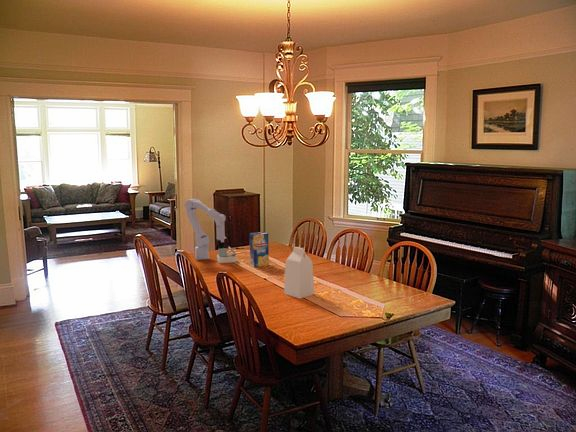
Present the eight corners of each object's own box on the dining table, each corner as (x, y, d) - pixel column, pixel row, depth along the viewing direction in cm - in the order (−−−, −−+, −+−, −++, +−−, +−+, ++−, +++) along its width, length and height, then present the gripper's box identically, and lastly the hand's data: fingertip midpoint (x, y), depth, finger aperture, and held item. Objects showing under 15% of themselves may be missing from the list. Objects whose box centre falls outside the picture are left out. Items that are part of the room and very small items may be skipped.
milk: (284, 293, 264) (283, 247, 260) (298, 289, 272) (298, 244, 268) (299, 298, 256) (299, 251, 252) (314, 293, 264) (314, 247, 260)
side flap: (230, 249, 333) (231, 248, 334) (228, 247, 341) (229, 246, 341) (235, 255, 335) (236, 254, 335) (233, 252, 343) (234, 251, 343)
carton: (219, 263, 332) (218, 257, 332) (217, 260, 341) (216, 254, 340) (236, 261, 336) (236, 256, 335) (233, 259, 344) (233, 253, 344)
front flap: (218, 249, 335) (218, 248, 334) (226, 248, 336) (226, 248, 335) (219, 256, 332) (219, 256, 331) (227, 256, 333) (227, 255, 333)
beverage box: (268, 265, 326) (268, 233, 323) (254, 267, 321) (253, 235, 318) (264, 262, 332) (263, 231, 329) (250, 264, 327) (249, 233, 324)
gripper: (228, 232, 332) (228, 252, 334) (224, 229, 346) (225, 247, 348) (217, 233, 330) (218, 252, 332) (214, 230, 344) (215, 248, 346)
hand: (221, 250), depth 340 cm, fingers closed
